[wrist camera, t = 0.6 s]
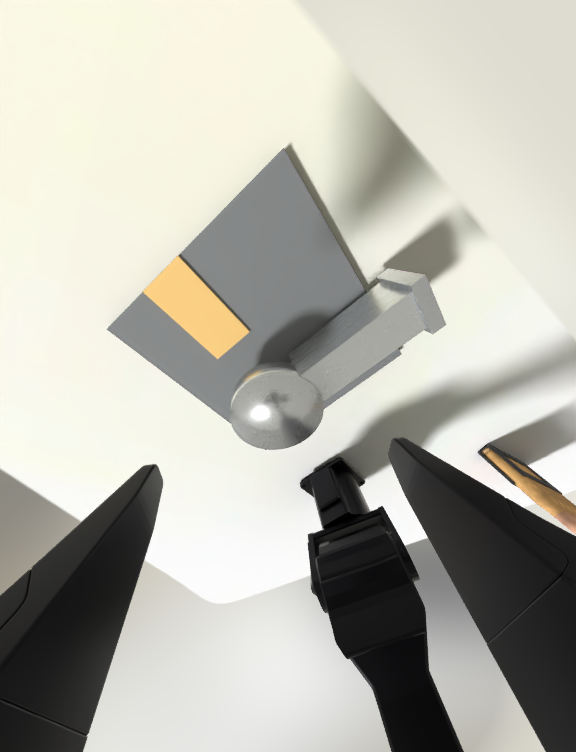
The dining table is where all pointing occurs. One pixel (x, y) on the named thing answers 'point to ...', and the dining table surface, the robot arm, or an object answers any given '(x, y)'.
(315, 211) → the base
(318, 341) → the elbow
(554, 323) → the dining table surface
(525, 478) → the ammunition clip
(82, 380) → the dining table surface
